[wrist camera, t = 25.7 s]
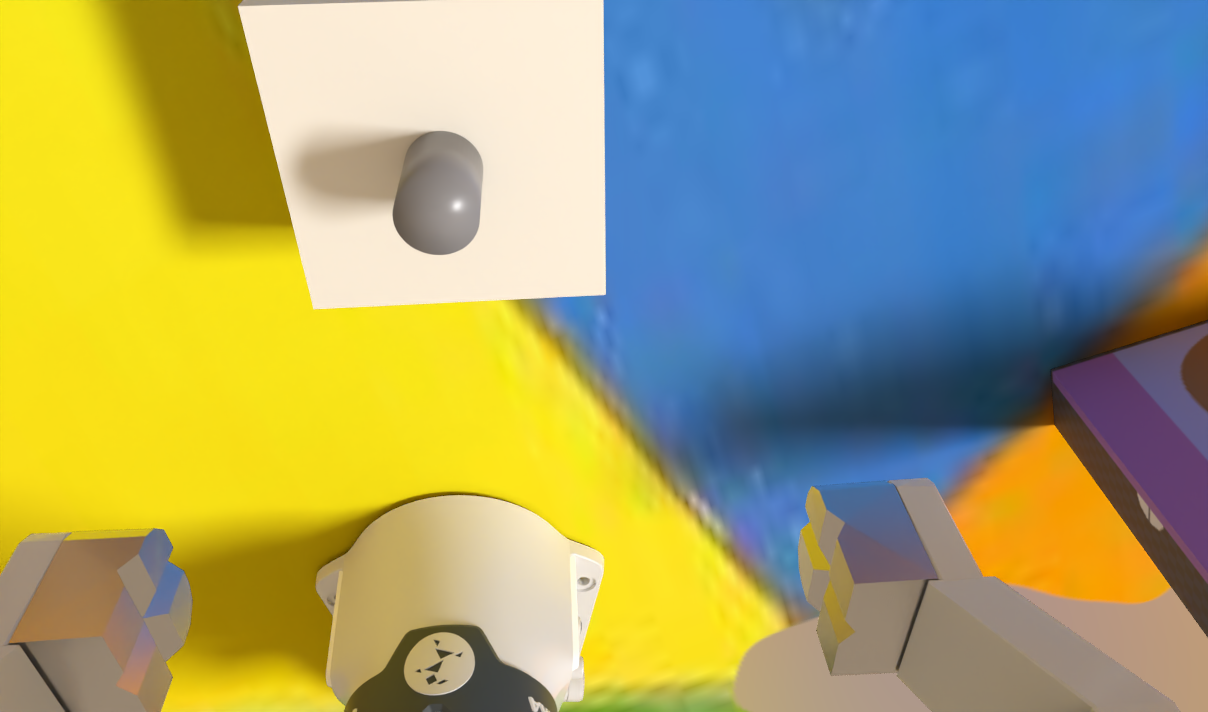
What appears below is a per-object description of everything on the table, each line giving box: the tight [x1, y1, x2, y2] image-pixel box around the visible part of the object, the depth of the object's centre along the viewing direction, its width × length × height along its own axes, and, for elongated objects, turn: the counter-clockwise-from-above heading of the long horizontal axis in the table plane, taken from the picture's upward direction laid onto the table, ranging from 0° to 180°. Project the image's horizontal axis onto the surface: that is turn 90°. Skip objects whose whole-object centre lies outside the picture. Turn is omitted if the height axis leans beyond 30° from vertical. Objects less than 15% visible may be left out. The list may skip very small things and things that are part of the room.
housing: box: [238, 0, 606, 309], centre depth 35 cm, size 12×12×11 cm
